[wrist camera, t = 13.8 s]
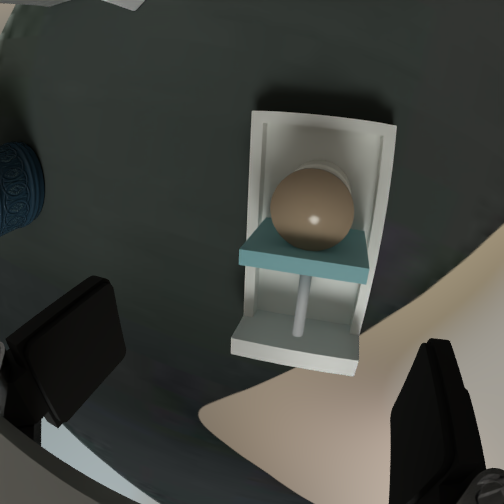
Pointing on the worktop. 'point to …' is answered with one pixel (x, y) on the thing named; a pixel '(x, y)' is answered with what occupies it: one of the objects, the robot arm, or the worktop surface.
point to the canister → (19, 186)
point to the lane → (321, 290)
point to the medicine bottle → (127, 3)
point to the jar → (313, 206)
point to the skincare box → (34, 2)
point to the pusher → (306, 262)
